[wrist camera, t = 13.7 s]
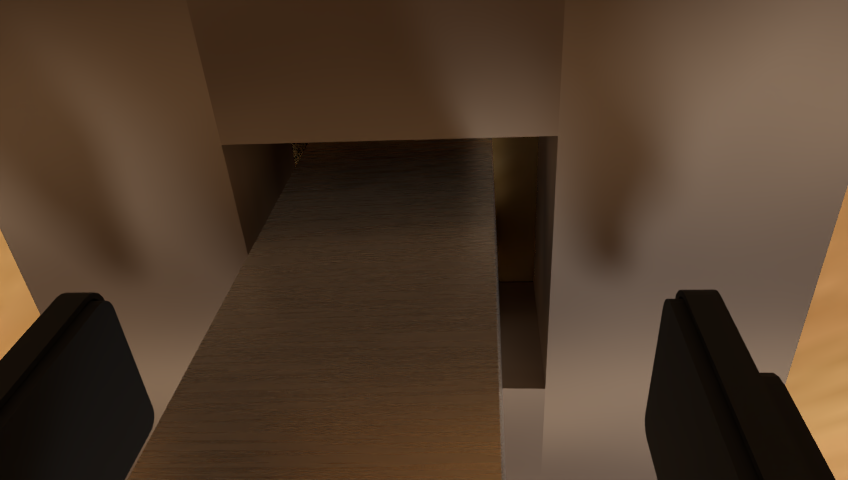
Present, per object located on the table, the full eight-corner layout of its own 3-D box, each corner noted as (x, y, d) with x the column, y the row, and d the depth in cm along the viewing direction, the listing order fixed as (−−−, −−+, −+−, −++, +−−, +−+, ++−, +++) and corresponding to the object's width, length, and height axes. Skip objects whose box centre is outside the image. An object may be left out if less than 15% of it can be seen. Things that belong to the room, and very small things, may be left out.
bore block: (-12, -165, 13) (-182, -158, 10) (837, -228, 12) (983, -247, 8) (189, 408, 22) (135, 516, 18) (694, 414, 20) (738, 534, 17)
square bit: (322, 116, 16) (42, 637, 6) (490, 104, 15) (506, 649, 5) (349, 255, 18) (178, 815, 8) (497, 249, 17) (518, 834, 7)
